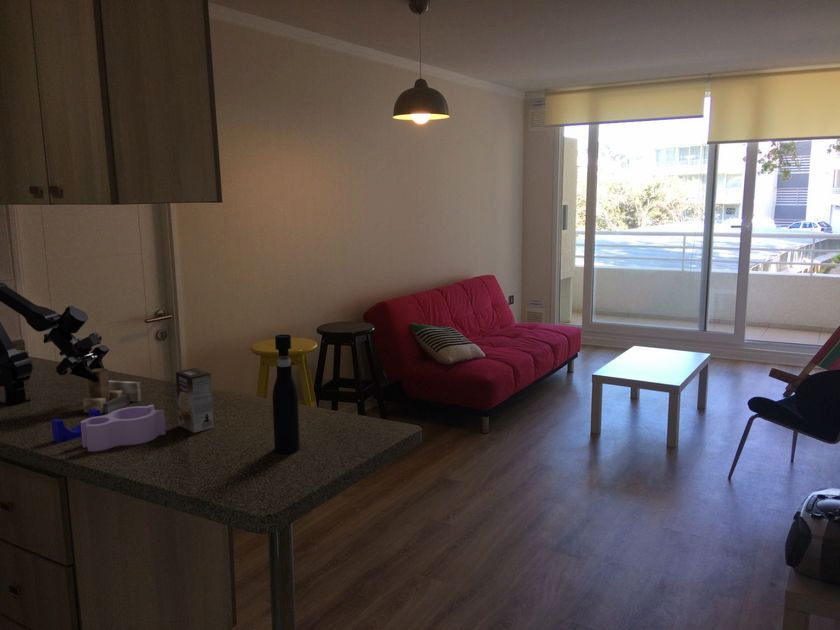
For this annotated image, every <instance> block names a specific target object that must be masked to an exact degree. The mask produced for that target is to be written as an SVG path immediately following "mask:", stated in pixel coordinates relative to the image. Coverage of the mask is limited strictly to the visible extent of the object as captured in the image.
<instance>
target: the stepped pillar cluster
mask: <svg viewBox="0 0 840 630" xmlns="http://www.w3.org/2000/svg"><path fill="white" fill-rule="evenodd" d="M109 390H110V400H109V401H107V402H106V398H94V397H90V396H87V397H85V398H83V399H82V407H83V412H84V413H88V414H89V410H90V409H97V410H100V414H104V415H107V414H109V413H111V412H113V411H115V410H118V409H122V408H124V407H125V406H126V405H129V404H131V402H138V403H139V402H140V401H142V392H141V382H140V381H124V380H110V379H109Z"/></svg>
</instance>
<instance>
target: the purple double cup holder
mask: <svg viewBox="0 0 840 630" xmlns="http://www.w3.org/2000/svg"><path fill="white" fill-rule="evenodd" d="M87 418H88V417H87ZM87 418H85V419H83V420H81V421H80V423H81V433H82V436H81V442H82V448H87V452H101V451H106V450H110V449H112V448H114V447H120V446H135V445H141V444H145V443H148V442H150V441H153V440H155V439H156V438H158V437H159V436H164V435H166V434H167V433H166V432H167V431H166V417H165V409H155V404H149V405H142V406H141V405H139V406H128V407H121V408H119V409H117V410H115V411H113V412H111V413H109V414H104V415H103V414H102V415H101V416H97V417H91V418H88V419H87ZM80 423H79V424H80Z"/></svg>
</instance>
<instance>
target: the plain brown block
mask: <svg viewBox="0 0 840 630" xmlns="http://www.w3.org/2000/svg"><path fill="white" fill-rule="evenodd" d="M92 372H93V373H94V374H95V375H96V376H97V378H98V379H99V381H98V382H94V381H91V380H88V386H89V387H88V388H89V389H88V390H89V397H94V398H106V402H107V401H109V400H110V390H109V380H110V378H109V369H108V368H105V369H102V368H95V369H93V370H92Z"/></svg>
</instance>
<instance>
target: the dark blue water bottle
mask: <svg viewBox="0 0 840 630" xmlns="http://www.w3.org/2000/svg"><path fill="white" fill-rule="evenodd" d="M274 341H275V342H274V343H275V350H277V351H278V358H277V361H276V362H277V364H276V378H275V382H274V385H273V389H272V390H273V391H272V413H273V414H272V415H273V417H272V418H273V440H274V451H275V452H276V453H277V454H283V455H286V454H293V453H296V452H298V451H299V450H300V447H301V446H300V445H301V443H300V421H299V420H300V419H299V394H298V390H297V385H296V382H295V380H294V377H293V372H292V371H293V369H292V364H291V358H290V357H289V356H290V354H289V353H290V352H289V350H291V349H292V337H291V335H290V334H277V335H275V336H274Z"/></svg>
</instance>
